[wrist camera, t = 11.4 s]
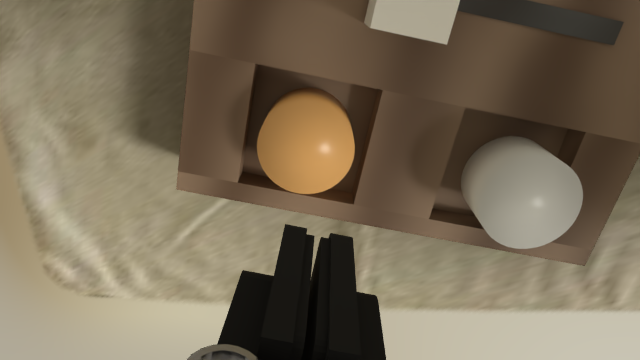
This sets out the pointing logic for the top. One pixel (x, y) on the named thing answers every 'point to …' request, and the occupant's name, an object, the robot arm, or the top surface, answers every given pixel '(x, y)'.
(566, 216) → the grey button
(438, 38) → the slider knob
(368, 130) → the control panel
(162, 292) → the top surface
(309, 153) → the orange button
